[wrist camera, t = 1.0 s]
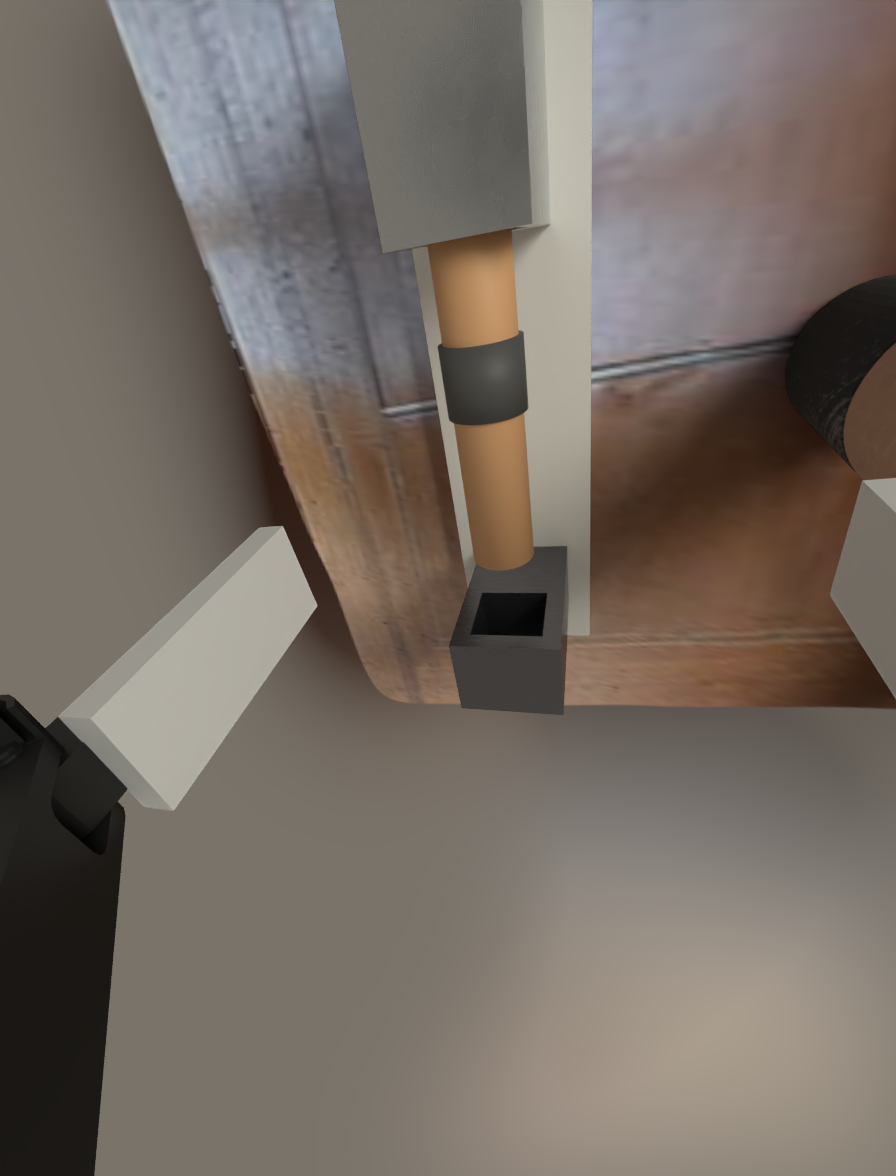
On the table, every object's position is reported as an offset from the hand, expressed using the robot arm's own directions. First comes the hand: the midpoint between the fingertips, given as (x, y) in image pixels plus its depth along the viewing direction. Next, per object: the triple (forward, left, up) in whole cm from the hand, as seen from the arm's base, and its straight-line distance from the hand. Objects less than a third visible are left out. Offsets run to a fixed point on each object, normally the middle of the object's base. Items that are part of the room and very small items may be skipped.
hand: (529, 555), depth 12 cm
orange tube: (-4, -3, -14) cm, 15 cm away
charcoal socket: (+14, -3, -20) cm, 24 cm away
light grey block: (-11, -3, -20) cm, 23 cm away
